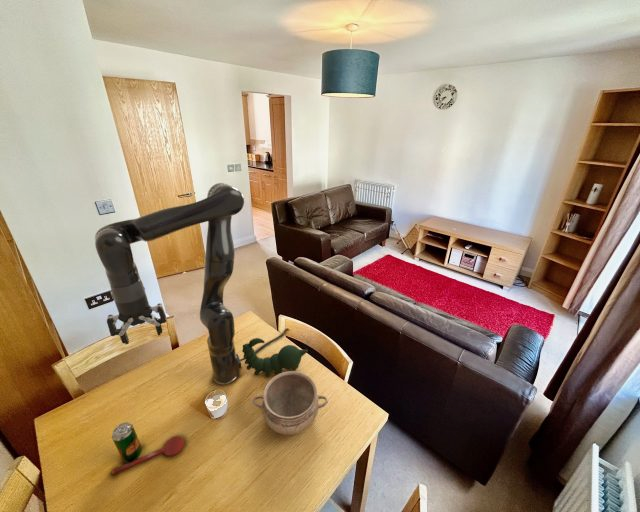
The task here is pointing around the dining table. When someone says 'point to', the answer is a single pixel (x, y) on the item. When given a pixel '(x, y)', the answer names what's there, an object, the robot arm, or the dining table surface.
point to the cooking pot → (290, 402)
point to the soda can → (127, 442)
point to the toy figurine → (272, 358)
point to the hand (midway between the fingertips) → (143, 338)
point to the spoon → (156, 453)
